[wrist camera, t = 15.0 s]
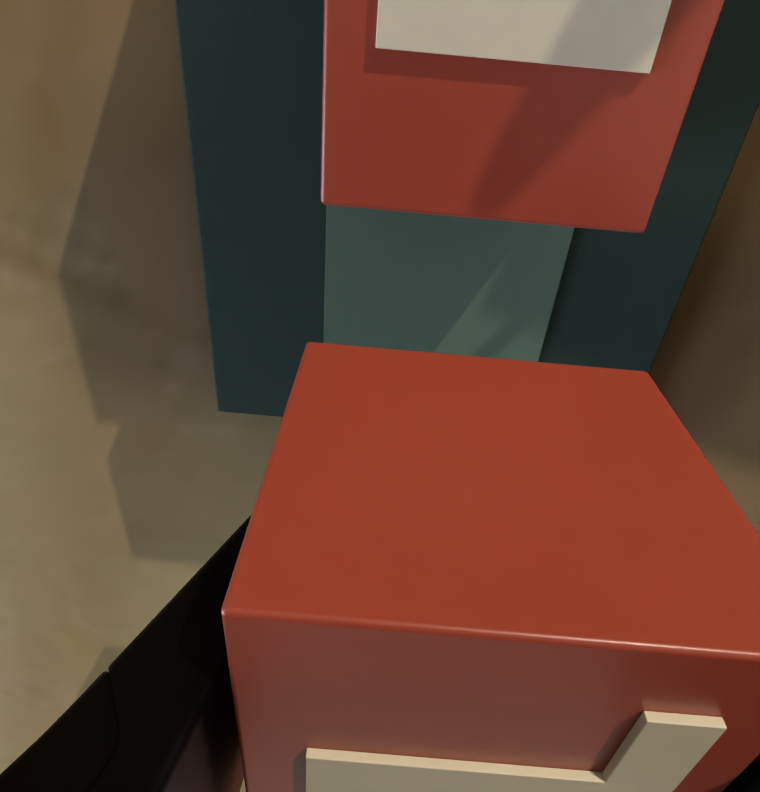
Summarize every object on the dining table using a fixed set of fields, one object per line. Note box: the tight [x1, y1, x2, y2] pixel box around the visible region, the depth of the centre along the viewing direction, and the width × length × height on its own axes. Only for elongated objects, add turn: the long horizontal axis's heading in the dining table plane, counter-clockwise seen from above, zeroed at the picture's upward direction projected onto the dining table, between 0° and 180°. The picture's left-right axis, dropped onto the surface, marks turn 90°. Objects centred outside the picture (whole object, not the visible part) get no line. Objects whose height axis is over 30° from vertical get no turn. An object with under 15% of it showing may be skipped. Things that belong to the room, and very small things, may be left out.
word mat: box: [175, 0, 760, 417], centre depth 11 cm, size 20×12×1 cm, turn 176°
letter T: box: [221, 342, 760, 792], centre depth 8 cm, size 5×5×5 cm
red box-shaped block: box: [321, 0, 724, 233], centre depth 9 cm, size 5×5×5 cm
